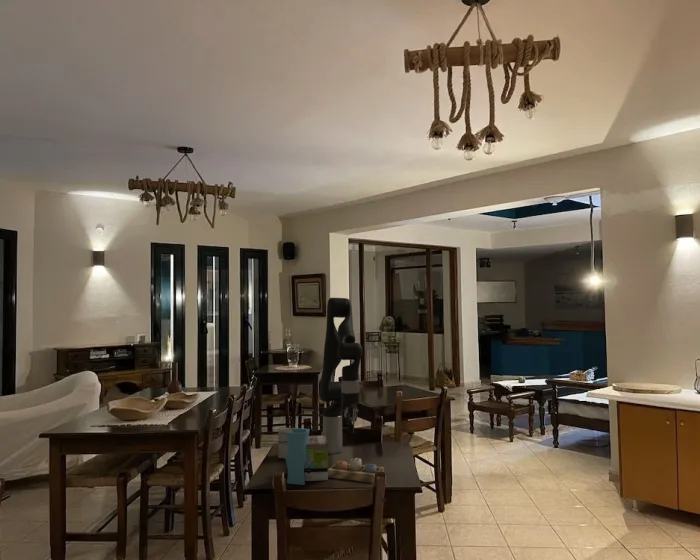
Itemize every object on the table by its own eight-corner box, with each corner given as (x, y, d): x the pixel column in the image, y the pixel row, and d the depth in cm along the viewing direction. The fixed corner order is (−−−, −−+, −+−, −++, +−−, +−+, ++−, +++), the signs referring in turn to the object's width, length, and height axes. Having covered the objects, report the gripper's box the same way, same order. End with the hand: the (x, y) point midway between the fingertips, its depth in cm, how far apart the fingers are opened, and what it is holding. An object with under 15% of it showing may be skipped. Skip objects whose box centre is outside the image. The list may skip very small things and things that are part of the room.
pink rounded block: (333, 473, 222) (333, 463, 222) (338, 469, 226) (338, 459, 226) (344, 474, 220) (344, 464, 220) (348, 471, 224) (348, 461, 224)
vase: (292, 476, 220) (292, 427, 221) (310, 478, 218) (310, 429, 219) (285, 483, 212) (285, 432, 213) (304, 484, 210) (304, 433, 211)
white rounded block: (348, 470, 219) (348, 460, 219) (352, 467, 224) (352, 457, 224) (359, 472, 218) (359, 461, 218) (363, 468, 222) (363, 458, 222)
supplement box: (277, 458, 246) (277, 430, 247) (285, 453, 253) (285, 427, 254) (291, 459, 244) (291, 432, 244) (299, 455, 251) (299, 428, 251)
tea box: (328, 480, 215) (328, 443, 216) (303, 481, 214) (303, 444, 214) (325, 468, 230) (325, 434, 230) (302, 470, 229) (302, 435, 229)
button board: (327, 477, 219) (327, 469, 219) (337, 469, 229) (337, 462, 230) (375, 482, 212) (375, 475, 212) (384, 474, 222) (384, 467, 222)
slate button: (363, 476, 217) (363, 466, 217) (367, 473, 221) (367, 462, 222) (374, 478, 215) (374, 467, 215) (378, 474, 220) (378, 464, 220)
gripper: (348, 388, 230) (348, 429, 229) (335, 393, 218) (336, 436, 217) (364, 389, 227) (365, 430, 226) (353, 393, 215) (353, 437, 214)
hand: (351, 433), depth 221 cm, fingers closed
